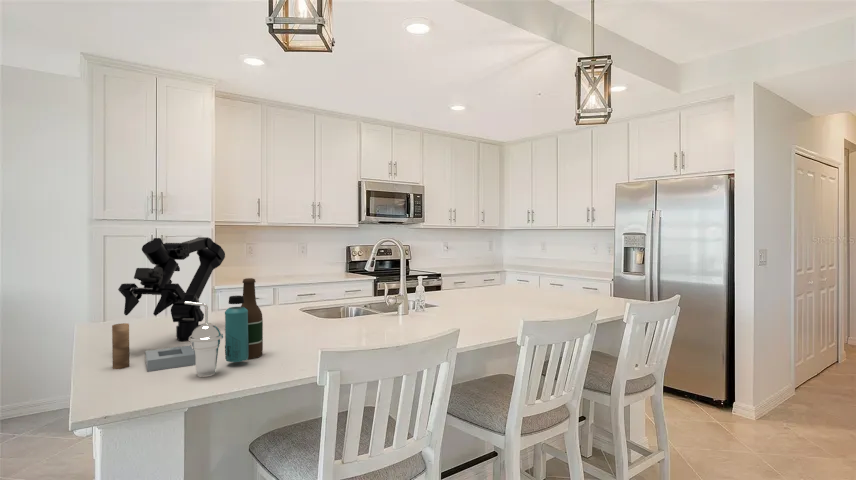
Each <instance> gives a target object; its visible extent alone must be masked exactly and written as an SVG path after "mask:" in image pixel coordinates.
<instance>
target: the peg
mask: <svg viewBox="0 0 856 480" xmlns="http://www.w3.org/2000/svg"><path fill="white" fill-rule="evenodd" d="M111 328H112V329H111V332H112V333H111V334H112V335H111V337H112V338H111V339H112V342H111V343H112V347H111V349H112V354H111V355H112V356H111V357H112V369H113V370H121V369H127V368H129V367H130V365H131V364H130V323H129V322H128V323H126V322H125V323H116V324H115V323H114V324H112V325H111Z"/></svg>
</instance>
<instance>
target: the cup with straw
mask: <svg viewBox="0 0 856 480" xmlns="http://www.w3.org/2000/svg"><path fill="white" fill-rule="evenodd" d="M185 304H190V305H199V306H200V307H204V323H201V324H199V326H197V327H196V328H195V329H194V331H193V333H192V335H191V336H190V337H189V340H188V341H189V342H190V343H191V347H192V349H193V350H194V356H195V364H196V365H195V372H196V373H197V374H196V377H198V378H199V377H200V378H206V377H211V376H214V375H215V374H216V369H217V363H218V356H219V347H220V345H221V340H222V339H223V338H224V334H223V333H222V332H221V331H220V329H219V328H218V326H217V325H216V324H214V323H210V322H209V311H208V309H209V308H208V307H209V306H208V305H207V304H206V303H205V302H199V303H196V302H187V301H185Z"/></svg>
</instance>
